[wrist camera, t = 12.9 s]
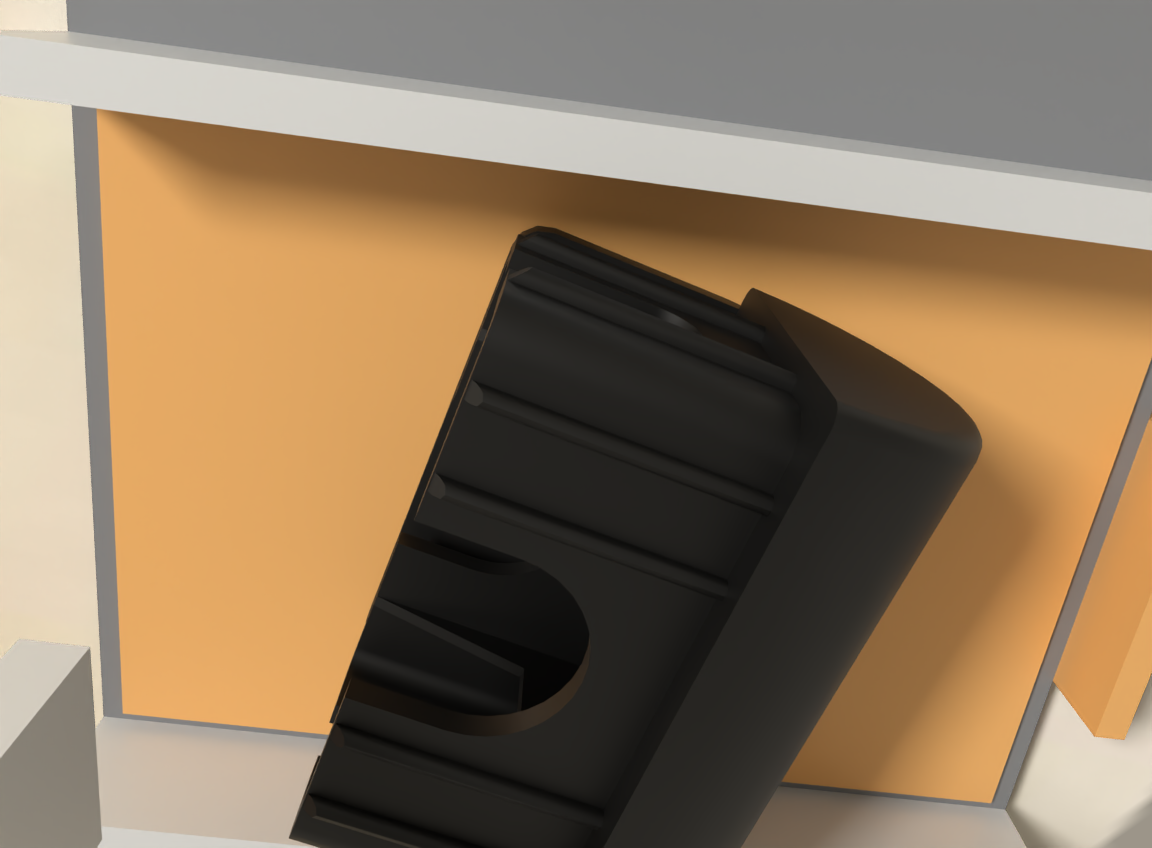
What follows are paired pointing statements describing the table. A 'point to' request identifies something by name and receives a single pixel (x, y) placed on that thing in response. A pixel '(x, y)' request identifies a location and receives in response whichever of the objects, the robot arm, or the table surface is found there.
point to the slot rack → (639, 232)
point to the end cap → (630, 566)
